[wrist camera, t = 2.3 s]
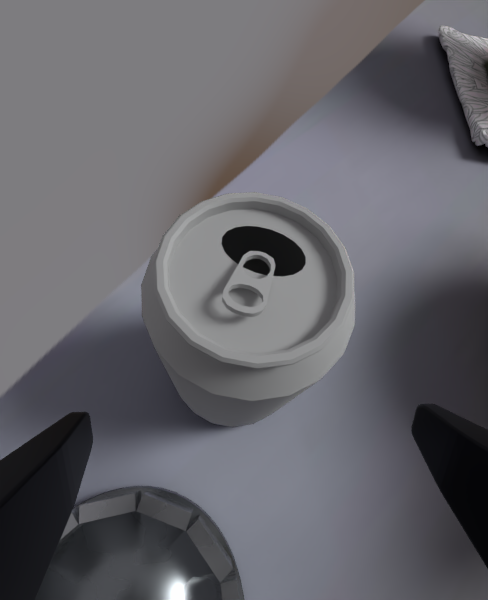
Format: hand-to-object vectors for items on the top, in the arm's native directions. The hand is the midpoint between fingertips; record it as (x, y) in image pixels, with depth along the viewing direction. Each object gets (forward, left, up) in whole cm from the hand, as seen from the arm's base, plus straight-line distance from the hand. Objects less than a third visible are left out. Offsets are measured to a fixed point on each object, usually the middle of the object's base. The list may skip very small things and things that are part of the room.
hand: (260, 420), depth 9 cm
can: (+4, -1, -11) cm, 12 cm away
